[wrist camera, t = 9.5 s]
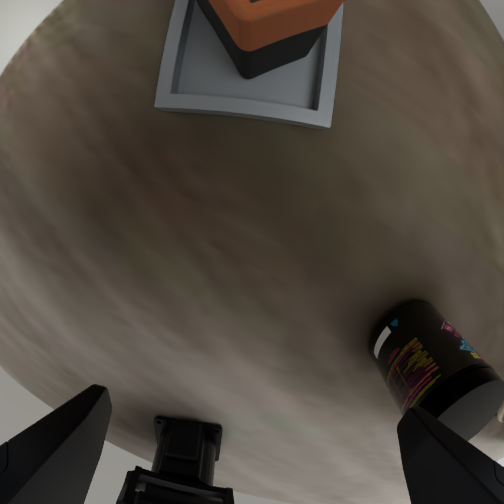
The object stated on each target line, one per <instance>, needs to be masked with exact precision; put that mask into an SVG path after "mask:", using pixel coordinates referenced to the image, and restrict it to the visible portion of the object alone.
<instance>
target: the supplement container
mask: <svg viewBox="0 0 504 504" xmlns="http://www.w3.org/2000/svg"><path fill="white" fill-rule="evenodd" d="M371 356H372V359H373V361H374V363H375V365H376V367H377V369H378V371H379V372H380V374H381V376H382V378H383V380H384V382H385V384H386V386H387V388H388V390H389V392H390V394H391V396H392V398H393V400H394V402H395V404H396V406H397V408H398V410H399V412H400V414H401V416H402V417H403V415H404V414H405V412H406V411H407V409H409V408H411V407H421V408H423V409H424V410H426V411H427V412H428V413H430V414H431V415H432V416H434V417H435V418H436V419H438V420H439V421H440V422H442V423H443V424H444V425H446V426H447V427H449V428H450V429H451V430H453V431H454V432H455V433H457V434H458V435H459V436H461V437H462V438H464V439H465V440H466V441H468V440H470V439H471V438H472V437H474V436H475V435H476V434H477V433H479V432H480V431H481V430H482V429H483V428H484V427H485V426H486V425H487V424H488V423H489V422H490V421H491V419H492V418H493V417H494V416H495V414H496V413H497V411H498V410H499V408H500V407H501V405H502V403H503V401H504V381H503V380H502V379H501V378H500V376H499V375H498V374H497V373H496V372H495V370H494V369H493V368H492V367H491V366H490V365H488V363H487V362H486V361H485V360H484V359H483V358H482V357H481V356H480V354H479V353H478V352H477V351H476V350H475V349H474V348H473V347H472V346H471V345H470V344H469V343H468V341H467V340H466V339H465V338H464V337H463V336H462V335H461V334H460V333H459V332H458V331H457V330H456V329H455V328H454V327H453V326H452V325H451V324H450V323H449V322H448V321H447V320H446V319H445V318H444V316H443V315H442V314H441V313H440V312H439V311H438V310H437V309H436V308H435V307H433V306H432V305H430V304H428V303H424V302H411V303H407V304H404V305H402V306H400V307H398V308H396V309H394V310H393V311H392V312H390V313H389V314H388V315H387V316H386V317H385V318H384V319H383V320H382V321H381V322H380V324H379V325H378V327H377V328H376V330H375V332H374V335H373V337H372V341H371Z"/></svg>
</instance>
